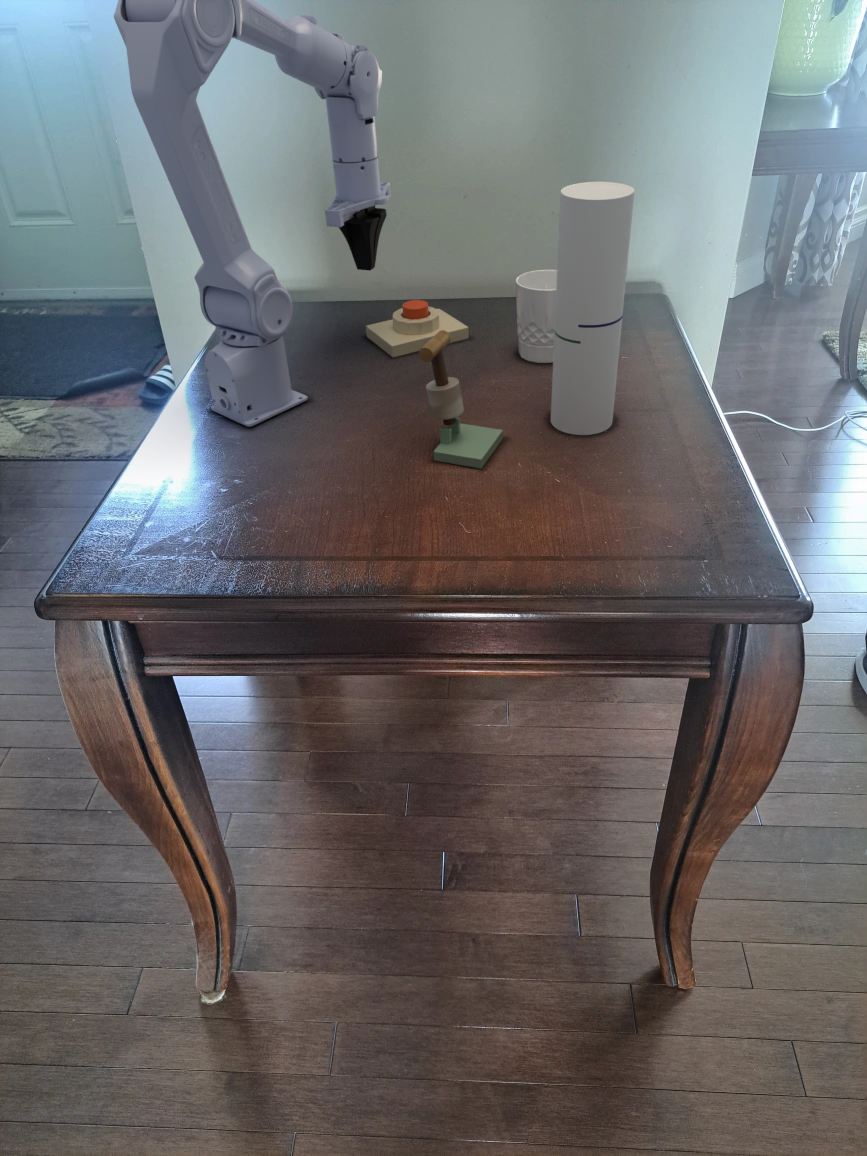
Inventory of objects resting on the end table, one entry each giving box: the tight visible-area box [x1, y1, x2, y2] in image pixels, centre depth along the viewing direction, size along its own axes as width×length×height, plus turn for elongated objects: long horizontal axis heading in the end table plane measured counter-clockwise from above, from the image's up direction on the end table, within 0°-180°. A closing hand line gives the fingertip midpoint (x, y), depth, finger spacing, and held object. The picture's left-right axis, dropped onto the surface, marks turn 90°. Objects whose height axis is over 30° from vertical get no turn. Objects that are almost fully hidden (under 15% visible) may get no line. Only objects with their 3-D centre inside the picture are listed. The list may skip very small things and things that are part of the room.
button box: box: [365, 306, 470, 358], centre depth 118 cm, size 12×9×4 cm
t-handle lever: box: [418, 330, 465, 426], centre depth 89 cm, size 10×5×4 cm
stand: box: [433, 416, 504, 470], centre depth 92 cm, size 6×7×3 cm
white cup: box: [515, 269, 557, 364], centre depth 109 cm, size 8×8×10 cm
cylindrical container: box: [550, 181, 635, 436], centre depth 89 cm, size 7×7×25 cm
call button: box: [401, 299, 429, 320], centre depth 117 cm, size 4×4×2 cm
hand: (365, 268), depth 112 cm, fingers closed
